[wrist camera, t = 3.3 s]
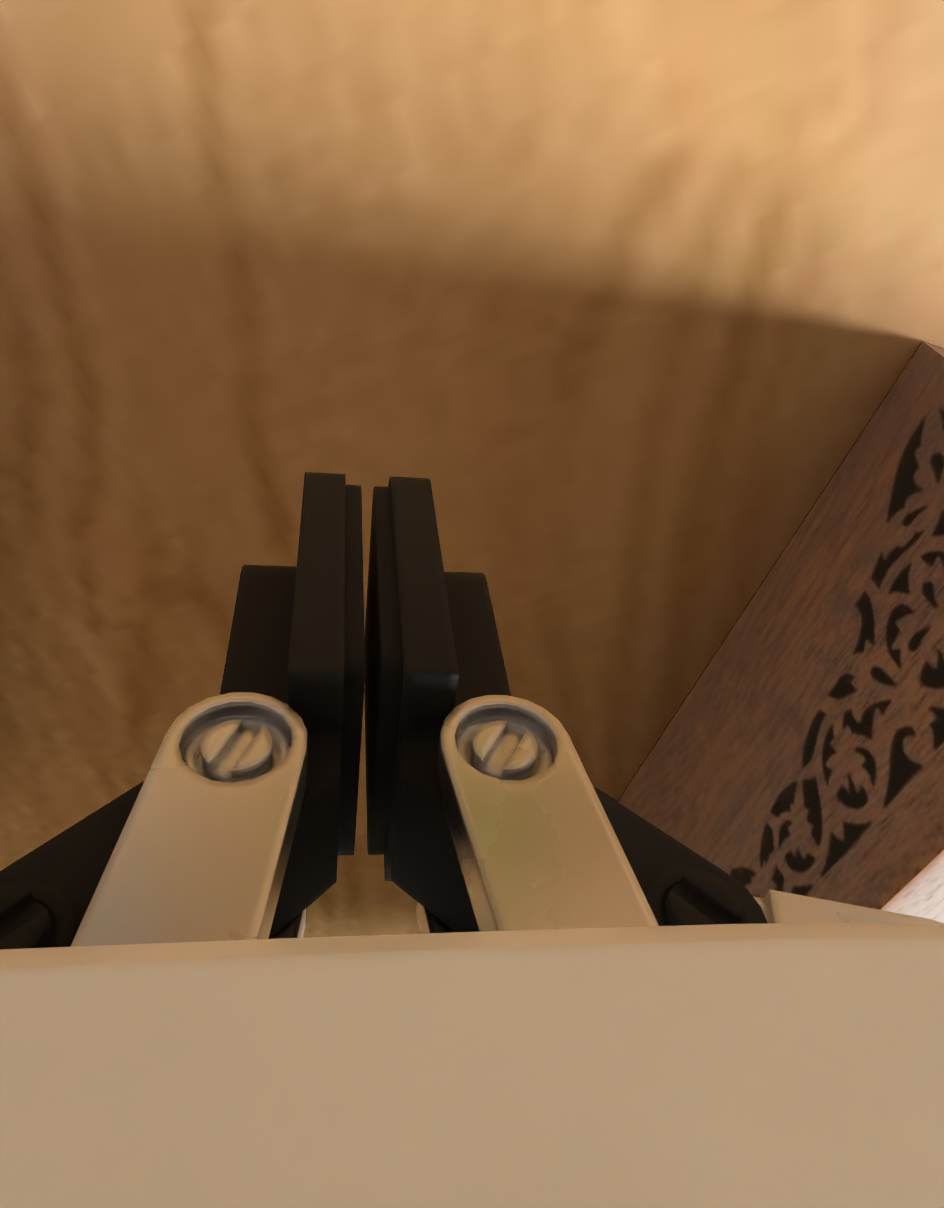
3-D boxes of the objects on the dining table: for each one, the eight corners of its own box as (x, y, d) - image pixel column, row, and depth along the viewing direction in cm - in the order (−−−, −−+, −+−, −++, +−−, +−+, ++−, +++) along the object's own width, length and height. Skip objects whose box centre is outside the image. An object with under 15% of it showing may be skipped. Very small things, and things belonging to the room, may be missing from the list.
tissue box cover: (923, 340, 22) (1233, 576, 14) (1310, 476, 26) (1723, 719, 18) (546, 909, 36) (594, 1179, 29) (829, 940, 40) (940, 1185, 32)
